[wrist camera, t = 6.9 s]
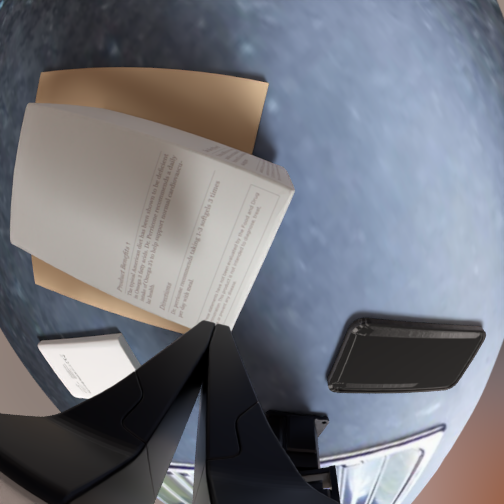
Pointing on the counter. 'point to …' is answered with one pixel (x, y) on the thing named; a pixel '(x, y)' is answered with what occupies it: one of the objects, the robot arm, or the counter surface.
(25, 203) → the supplement box
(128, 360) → the external hard drive
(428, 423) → the counter surface
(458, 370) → the phone
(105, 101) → the wooden cutting board
